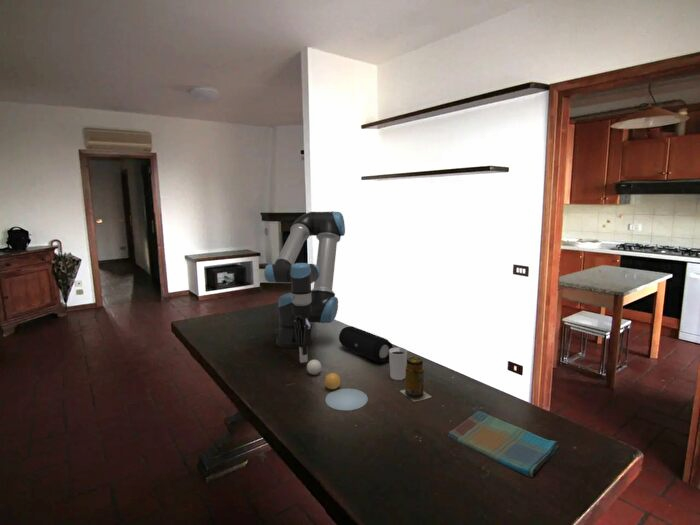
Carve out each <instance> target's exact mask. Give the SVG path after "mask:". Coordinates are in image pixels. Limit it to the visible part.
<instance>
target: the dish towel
mask: <svg viewBox="0 0 700 525" xmlns="http://www.w3.org/2000/svg"><path fill="white" fill-rule="evenodd" d="M447 437H448V438H449V439H451V440H452V441H455V442H456V443H458V444H460V445H463V446H464V447H467V448H468V449H469V448H470V449H471V450H473V451H474V452H477V453H479V454H481V455H482V456H483V455H484V456H485V457H487V458H489V459H491V460H492V461H494V462H497V463H498V464H500V465H502V466H505V467H507V468H509V469H511V470H513V471H515V472H517V473H520V474H522V475H524V476H526V477H530V478H534V475H535V474H536V472H538V470H540V468H541V467H542V465H543V464H545V463H546V462H547V461H548V460H549V459H551V457H552V456H553V455H555V453H556V452H557V450H558V448H560V446H559V445H557V440H556V441H555V440H550V439H547V438H544V437H542V436H540V435H537V434H534V433H533V432H530V431H528V430H526V429H524V428H522V427H519V426H516V425H514V424H511V423H509V422H506V421H505V420H501V419H499V418H497V417H494V416H492V415H490V414H487V413H485V412H484V411H482V410H477V411H476V412H474V413H473V414H472V415H470V416H469V417H468V418H466V419H465V420H464V421H462V422H461V423H460V424H459V425H457V426H456V427H455V428H453V429H452V430H450V431H448V434H447Z"/></svg>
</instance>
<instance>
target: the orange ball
mask: <svg viewBox="0 0 700 525" xmlns="http://www.w3.org/2000/svg"><path fill="white" fill-rule="evenodd" d="M341 383H342V382H341V378H340V376H339V375H338V374H337V373H334V372H331V373H328V374H327V375H326V376H325V378H324V384H325V386H326V388H327V389H329V390H337V389H338V387H340V385H341Z"/></svg>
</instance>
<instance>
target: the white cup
mask: <svg viewBox="0 0 700 525" xmlns="http://www.w3.org/2000/svg"><path fill="white" fill-rule="evenodd" d="M407 359H408V349H406V348H404V347H397V346H396V347H393V348H391V349H390V350H389V360H388V362H389V375H390V376H389V377H390V378H391V379H392V380H394V381H395V380H396V381H402V380H404V379H406V378H405V377H406V366H407Z"/></svg>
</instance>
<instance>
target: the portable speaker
mask: <svg viewBox="0 0 700 525" xmlns="http://www.w3.org/2000/svg"><path fill="white" fill-rule="evenodd" d="M338 341H339V343H340V344H341V345H342V347H343V348H345V349H347V350H349V351H352V352H353V353H356V354H358V355H360V356H363V357H365V358H367V359H369V360H371V361H373V362H376V363H387V362H389V350H390V349H391V348H394V347H393V344H392V343H391V342H390V340H388V339H387V338H384V337H382V336H379V335H377V334H375V333H371V332H368V331H366V330H363V329H361V328H358V327H356V326H345V327H344V328H342V329H341V330H340V332H339V334H338Z"/></svg>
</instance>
